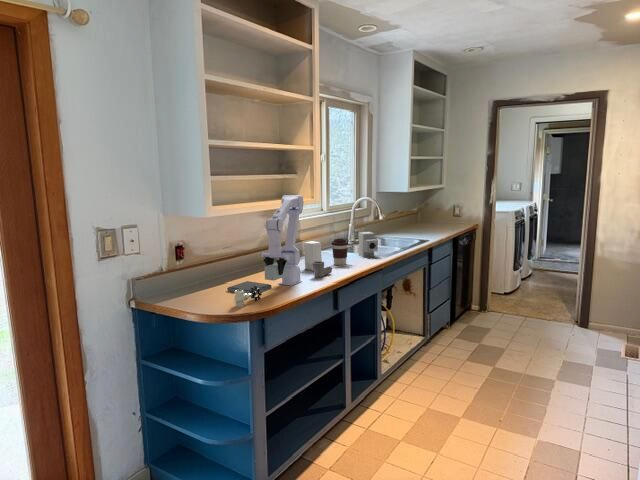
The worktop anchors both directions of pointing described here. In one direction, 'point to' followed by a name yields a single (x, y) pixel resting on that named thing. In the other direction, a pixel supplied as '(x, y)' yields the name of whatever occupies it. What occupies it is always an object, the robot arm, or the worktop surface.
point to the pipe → (320, 269)
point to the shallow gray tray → (249, 287)
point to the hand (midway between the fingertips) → (275, 274)
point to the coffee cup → (339, 251)
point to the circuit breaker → (367, 244)
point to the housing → (274, 272)
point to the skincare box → (312, 253)
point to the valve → (246, 296)
